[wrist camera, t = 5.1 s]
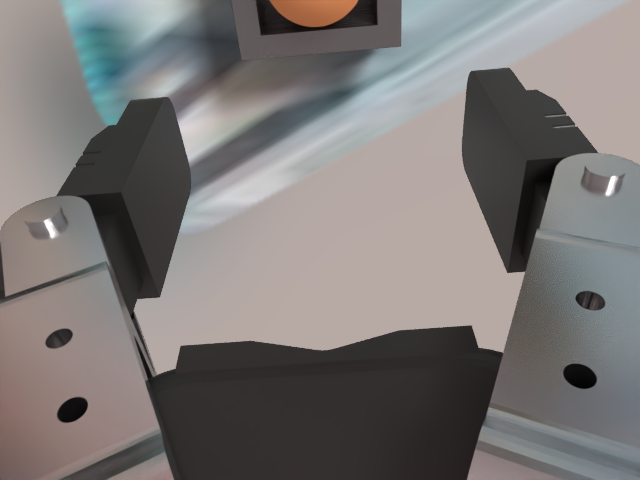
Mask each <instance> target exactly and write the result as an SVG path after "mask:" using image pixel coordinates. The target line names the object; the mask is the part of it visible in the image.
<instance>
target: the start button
mask: <svg viewBox="0 0 640 480" xmlns="http://www.w3.org/2000/svg"><path fill="white" fill-rule="evenodd" d="M270 2H271V3H272V5H273V6H274V7H275V9H276V10H277V11H278V12H279V13H280V14H281V15H282V16H284V17H285V18H287V19H288V20H290V21H292V22H294V23H296V24H299V25H302V26H308V27H320V26H326V25H329V24H332V23H334V22H337V21H338V20H340V19H342V18H343V17H344V16H346V15H347V14H348V13H349V12H350V11H351V10H352V9H353V7H354V6H355V5H356V3H357V2H358V0H270Z"/></svg>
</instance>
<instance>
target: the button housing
mask: <svg viewBox="0 0 640 480" xmlns="http://www.w3.org/2000/svg"><path fill="white" fill-rule="evenodd" d="M231 2H232V8H233V14H234V20H235V25H236V31H237V37H238V42H239V48H240V54H241V60H242V61H243V60H254V59H265V58H276V57H288V56H299V55H310V54H321V53H333V52H344V51H355V50H366V49H378V48H389V47H400V46H401V0H358V2H357V3H356V5H355V6H354V7H353V9H352V10H351V11H350V12H349V13H348V14H347V15H346V16H344V17H343V18H342V19H340V20H338V21H337V22H334V23H332V24H329V25H326V26H320V27H308V26H302V25H299V24H296V23H294V22H292V21H290V20H288V19H287V18H285V17H284V16H282V15H281V14H280V13H279V12H278V11H277V10H276V9H275V7H274V6H273V5H272V3H271V2H270V0H231Z"/></svg>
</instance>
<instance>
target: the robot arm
mask: <svg viewBox="0 0 640 480" xmlns="http://www.w3.org/2000/svg"><path fill="white" fill-rule="evenodd" d="M462 157H463V164H464V169H465V172H466V174H467V177H468V179H469V182H470V184H471V186H472V189H473V191H474V193H475V196H476V198H477V201H478V203H479V205H480V208H481V210H482V213H483V215H484V217H485V220H486V222H487V225H488V227H489V229H490V232H491V234H492V237H493V239H494V242H495V244H496V246H497V249H498V251H499V254H500V256H501V259H502V261H503V263H504V266H505V268H506V270H507V273H512V272H524V271H525V275H524V279H523V283H522V286H521V290H520V294H519V297H518V301H517V305H516V309H515V312H514V316H513V319H512V323H511V327H510V330H509V334H508V338H507V342H506V345H505V349H504V353H502V352H497V351H494V350H489V349H483V348H478V345H477V342H476V339H475V335H474V332H473V329H472V326H457V327H443V328H429V329H415V330H401V331H396V332H392V333H389V334H385V335H382V336H378V337H374V338H371V339H367V340H364V341H360V342H357V343H353V344H350V345H346V346H343V347H339V348H336V349H332V350H324V351H321V350H312V349H305V348H298V347H291V346H283V345H276V344H269V343H262V342H255V341H244V342H230V343H215V344H201V345H186V346H181V347H180V352H179V356H178V360H177V365H176V369H173V370H170V371H167V372H164V373H161V374H159V375H157V373H156V371H155V368H154V365H153V362H152V359H151V356H150V353H149V350H148V348H147V345H146V342H145V339H144V336H143V334H142V331H141V328H140V325H139V322H138V320H137V318H136V315H135V313H134V307H135V304H136V301H137V299H143V298H157V297H160V295H161V291H162V288H163V284H164V281H165V278H166V274H167V271H168V267H169V264H170V260H171V257H172V253H173V250H174V246H175V243H176V239H177V236H178V233H179V229H180V226H181V222H182V219H183V215H184V212H185V208H186V205H187V201H188V198H189V195H190V190H191V174H190V167H189V163H188V159H187V155H186V151H185V148H184V144H183V140H182V136H181V133H180V129H179V125H178V121H177V118H176V114H175V110H174V107H173V104H172V102H171V100H170V99H169V98H168V97H161V98H149V99H138V100H131V101H130V102H129V104H128V105H127V107H126V109H125V111H124V112H123V114H122V116H121V118H120V120H119V121H118V123H117V125H110V126H108V127H106V128H105V129H104V130H103V131H101V132H100V133H99V134H97V135H96V136H95V137H93V138H92V139H91V141H90V142H89V144H88V145H87V147H86V149H85V150H84V152H83V156H81V157H80V159H79V160H78V162H77V163H76V167H74V168H73V170H72V171H71V173H70V175H69V176H68V178H67V179H66V181H65V183H64V184H63V186H62V187H61V189H60V191H59V193H58V194H57V196H55V197H50V198H46V199H43V200H39V201H36V202H34V203H32V204H29V205H27V206H25V207H23V208H22V209H20V210H18V211H17V212H15V213H14V214H13V215H11V216H10V217H9V218H8V219H7V220H6V221H5V223H4V224H3V226H2V228H1V230H0V480H640V165H639V164H637V163H635V162H633V161H630V160H628V159H625V158H622V157H619V156H615V155H609V154H601V153H598V152H597V151H596V149H595V148H594V147H593V146H592V145H591V143H590V142H589V141H588V139H587V138H586V137H585V136H584V134H583V133H582V132H581V131H580V130H579V128H578V127H575V123H574V122H573V121H572V120H571V118H570V117H569V116H566V112H565V111H564V110H563V108H562V107H561V106H560V105H559V103H558V102H557V101H556V100H555V99H553V98H551V97H549V96H547V95H545V94H543V93H542V92H540V91H538V90H527V91H526V89H525V88H524V87H523V85H522V84H521V83H520V82H519V80H518V79H517V77H516V76H515V74H514V73H513V72H512V70H511V69H510V68H500V69H489V70H477V71H471V72H470V74H469V77H468V82H467V91H466V102H465V114H464V126H463V137H462Z"/></svg>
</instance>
